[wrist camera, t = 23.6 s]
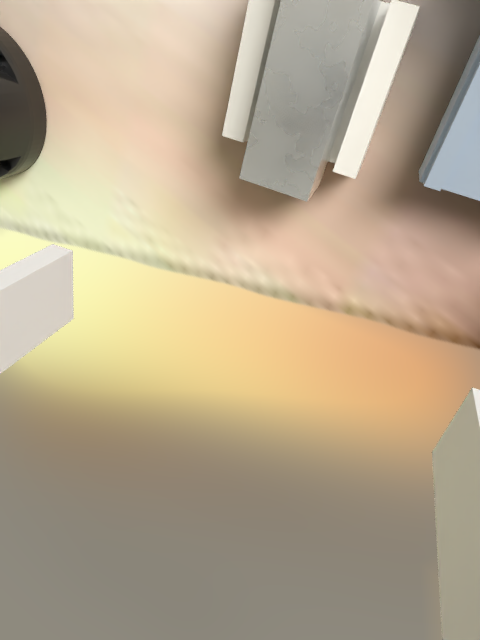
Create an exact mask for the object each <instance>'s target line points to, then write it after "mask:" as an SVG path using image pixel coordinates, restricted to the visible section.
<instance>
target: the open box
mask: <svg viewBox="0 0 480 640" xmlns="http://www.w3.org/2000/svg"><path fill="white" fill-rule="evenodd" d="M419 182H422V183H423V184H424V186H425V187H428V188H431V189H435V190H438V191H440V190H441V189H444V190H447V191H450V192H453V193H456V194H459V195H463V196H466V197H469V198H472V199H475V200H478V201H480V35H479V38H478V40H477V42H476V44H475V46H474V49H473V51H472V53H471V55H470V58H469V60H468V62H467V64H466V67H465V69H464V71H463V73H462V76H461V78H460V80H459V82H458V85H457V87H456V89H455V91H454V93H453V96H452V98H451V100H450V102H449V105H448V107H447V109H446V111H445V114H444V116H443V118H442V120H441V123H440V125H439V127H438V129H437V132H436V134H435V136H434V138H433V140H432V143H431V145H430V147H429V149H428V152H427V154H426V156H425V158H424V161H423V163H422V165H421V167H420V170H419Z"/></svg>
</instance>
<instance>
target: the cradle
mask: <svg viewBox="0 0 480 640" xmlns="http://www.w3.org/2000/svg"><path fill="white" fill-rule="evenodd" d="M280 2H281V0H249V2H248V7H247V12H246V17H245V22H244V27H243V32H242V37H241V42H240V48H239V53H238V58H237V63H236V68H235V73H234V78H233V83H232V88H231V93H230V98H229V103H228V108H227V113H226V118H225V123H224V128H223V133H222V136H224V137H228V138H231V139H234V140H237V141H240V142H245V141H247V140H248V138H249V134H250V130H251V125H252V121H253V117H254V113H255V108H256V104H257V100H258V96H259V91H260V87H261V83H262V78H263V74H264V70H265V66H266V61H267V57H268V53H269V49H270V44H271V40H272V36H273V32H274V27H275V23H276V19H277V14H278V10H279V6H280ZM419 9H420V6H417V5H413V4H409V3H405V2H401V1H397V0H391V3H386V2H383V1H381V4H380V7H379V10H378V13H377V16H376V19H375V22H374V25H373V28H372V31H371V34H370V37H369V40H368V43H367V46H366V49H365V52H364V55H363V58H362V61H361V64H360V67H359V70H358V73H357V76H356V79H355V82H354V85H353V88H352V91H351V94H350V97H349V100H348V102H347V105H346V108H345V111H344V114H343V117H342V120H341V123H340V126H339V129H338V132H337V135H336V138H335V141H334V144H333V147H332V150H331V153H330V156H329V159H328V161H329V162H332V163H335V166H334V169H333V172H335V173H339V174H342V175H345V176H348V177H351V178H354V179H356V177H357V175H358V173H359V171H360V168H361V166H362V164H363V161H364V158H365V156H366V153H367V150H368V148H369V145H370V142H371V140H372V137H373V134H374V132H375V129H376V126H377V124H378V121H379V118H380V116H381V113H382V110H383V108H384V105H385V102H386V100H387V97H388V94H389V92H390V89H391V86H392V84H393V81H394V78H395V76H396V73H397V70H398V68H399V65H400V62H401V60H402V57H403V54H404V52H405V49H406V46H407V44H408V41H409V38H410V36H411V33H412V30H413V28H414V25H415V22H416V20H417V17H418V14H419Z"/></svg>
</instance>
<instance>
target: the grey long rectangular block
mask: <svg viewBox="0 0 480 640" xmlns="http://www.w3.org/2000/svg"><path fill="white" fill-rule="evenodd" d="M381 1H382V0H281V2H280V6H279V10H278V14H277V19H276V23H275V27H274V32H273V36H272V40H271V44H270V49H269V53H268V57H267V61H266V66H265V70H264V74H263V78H262V83H261V87H260V91H259V96H258V100H257V104H256V108H255V113H254V117H253V121H252V125H251V130H250V134H249V138H248V143H247V147H246V151H245V155H244V160H243V164H242V168H241V172H240V177H239V179H242V180H245V181H248V182H251V183H254V184H257V185H260V186H263V187H266V188H268V189H271V190H274V191H277V192H280V193H283V194H286V195H289V196H292V197H295V198H298V199H301V200H304V201H308V200H309V199H310V197H311V196H312V195H313V193H314V192H315V191H316V189H317V188H318V187H319V186H320V183H321V180H322V177H323V174H324V171H325V168H326V165H327V162H328V159H329V156H330V153H331V150H332V147H333V144H334V141H335V138H336V135H337V132H338V129H339V126H340V123H341V120H342V117H343V114H344V111H345V108H346V105H347V102H348V100H349V97H350V94H351V91H352V88H353V85H354V82H355V79H356V76H357V73H358V70H359V67H360V64H361V61H362V58H363V55H364V52H365V49H366V46H367V43H368V40H369V37H370V34H371V31H372V28H373V25H374V22H375V19H376V16H377V13H378V10H379V7H380V4H381Z"/></svg>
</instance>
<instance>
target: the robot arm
mask: <svg viewBox="0 0 480 640" xmlns="http://www.w3.org/2000/svg"><path fill="white" fill-rule="evenodd" d="M45 134H46V110H45V103H44V99H43V94H42V91H41V87H40V84H39V82H38V79H37V77H36V74H35V72H34V70H33V68H32V66H31V64H30V62H29V60H28V59H27V57H26V55H25V54H24V52H23V51H22V50H21V48H20V47H19V46H18V44H17V43H16V42H15V41H14V40H13V38H12V37H11V36H10V35H9V34H8V33H7V32H6V31H4V30H3V29H2V28H1V27H0V179H1V178H5V177H8V176H12V175H16V174H19V173H21V172H23V171H25V170H26V169H28V168H29V167H30V166H31V165H32V164H33V163H34V162H35V161H36V159H37V158H38V156H39V154H40V152H41V150H42V147H43V144H44V140H45ZM72 319H73V251H72V250H69V249H66V248H63V247H60V246H57V245H54V244H52V245H50V246H48V247H46V248H44V249H42V250H40V251H38V252H36V253H34V254H32V255H30V256H28V257H26V258H24V259H22V260H20V261H18V262H16V263H14V264H12V265H10V266H8V267H6V268H4V269H2V270H0V374H1V373H2V372H3V371H5V370H6V369H7V368H9V367H10V366H11V365H13V364H14V363H15V362H16V361H18V360H19V359H21V358H22V357H23V356H25V355H26V354H27V353H28V352H30V351H31V350H32V349H34V348H35V347H36V346H38V345H39V344H40V343H42V342H43V341H44V340H45V339H47V338H48V337H50V336H51V335H52V334H54V333H55V332H56V331H58V330H59V329H60V328H62V327H63V326H64V325H66V324H67V323H68V322H70V321H71V320H72ZM432 460H433V479H434V498H435V516H436V534H437V553H438V572H439V590H440V609H441V628H442V640H480V390H478V389H475V388H473V387H472V388H471V390H470V392H469V393H468V395H467V397H466V398H465V400H464V401H463V403H462V405H461V406H460V408H459V409H458V411H457V413H456V414H455V416H454V418H453V419H452V421H451V422H450V424H449V425H448V427H447V429H446V430H445V432H444V434H443V435H442V437H441V438H440V440H439V442H438V443H437V445H436V446H435V448H434V450H433V451H432Z"/></svg>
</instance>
